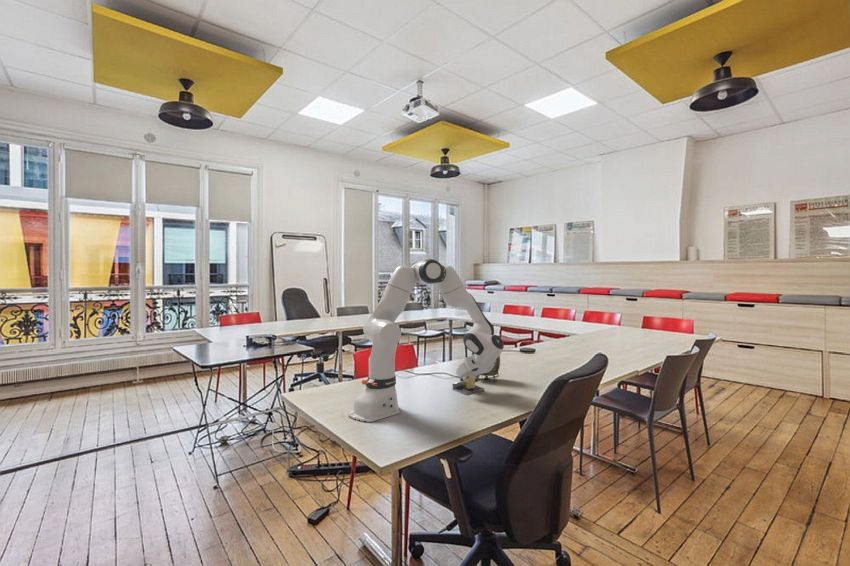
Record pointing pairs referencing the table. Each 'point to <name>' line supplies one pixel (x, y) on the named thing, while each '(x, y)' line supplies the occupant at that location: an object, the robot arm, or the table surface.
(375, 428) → the table surface
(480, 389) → the fixed leaf
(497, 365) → the tabletop clock
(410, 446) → the table surface
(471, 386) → the tan wooden block
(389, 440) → the table surface
